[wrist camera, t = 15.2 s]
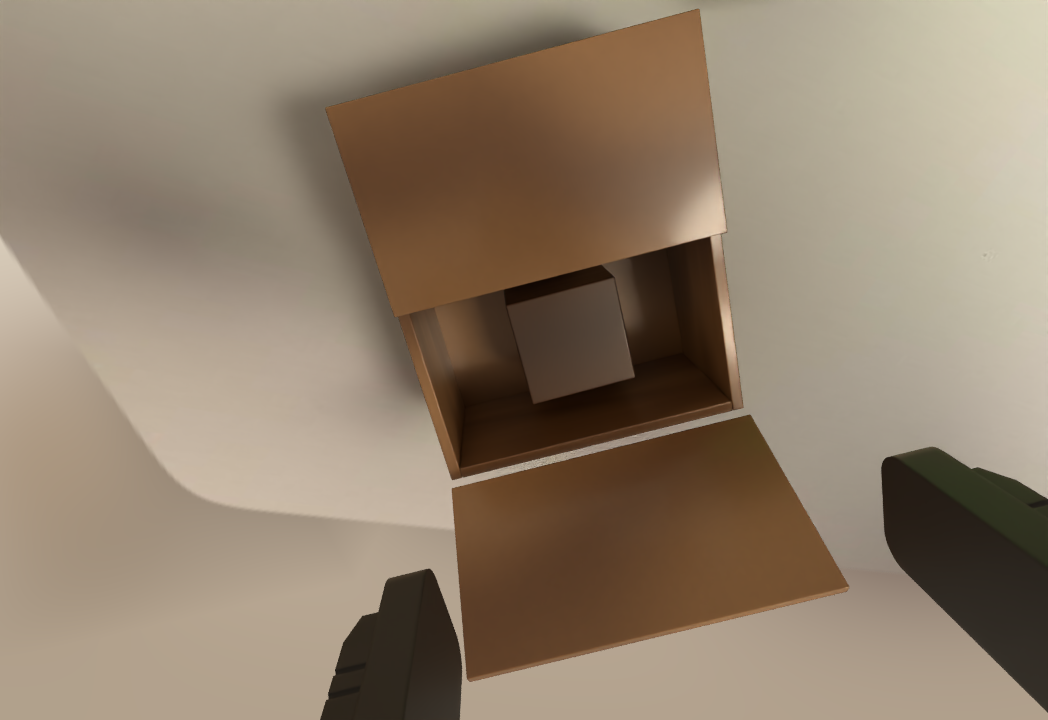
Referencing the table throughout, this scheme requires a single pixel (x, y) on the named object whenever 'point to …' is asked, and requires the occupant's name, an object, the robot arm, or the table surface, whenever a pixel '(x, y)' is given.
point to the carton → (551, 232)
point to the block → (569, 333)
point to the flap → (631, 547)
